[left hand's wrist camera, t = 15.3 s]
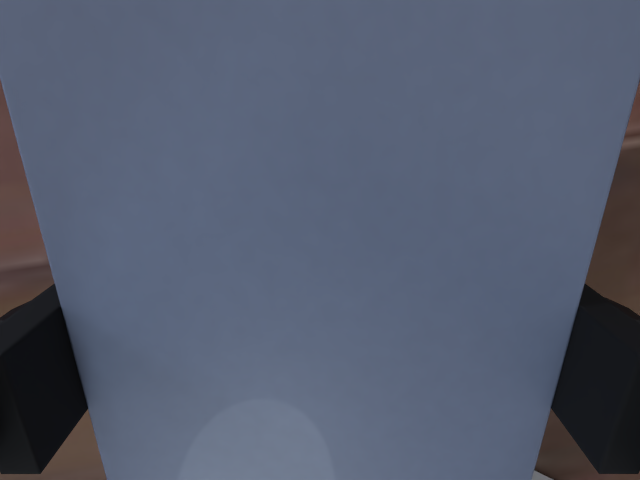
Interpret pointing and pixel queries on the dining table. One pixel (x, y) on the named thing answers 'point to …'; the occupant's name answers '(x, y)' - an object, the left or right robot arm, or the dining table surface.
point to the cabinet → (319, 222)
